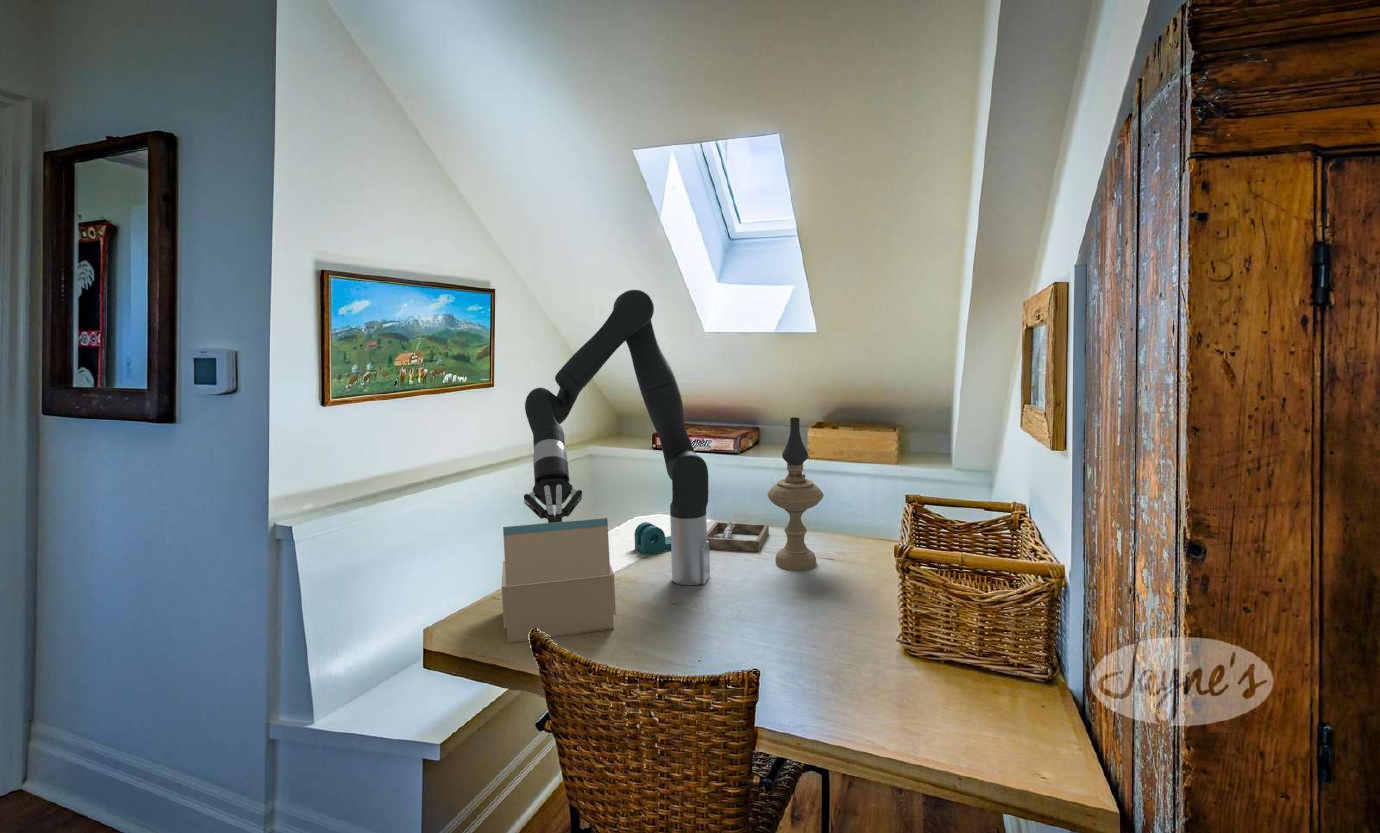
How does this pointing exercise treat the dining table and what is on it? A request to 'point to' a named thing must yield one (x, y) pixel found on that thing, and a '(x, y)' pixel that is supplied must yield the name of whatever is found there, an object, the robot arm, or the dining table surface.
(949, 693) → the dining table surface
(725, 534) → the soldier figure
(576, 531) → the wooden box lid
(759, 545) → the wooden tray
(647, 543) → the bracket
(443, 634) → the dining table surface
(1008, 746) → the dining table surface
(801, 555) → the oil lamp
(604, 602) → the tan open box
